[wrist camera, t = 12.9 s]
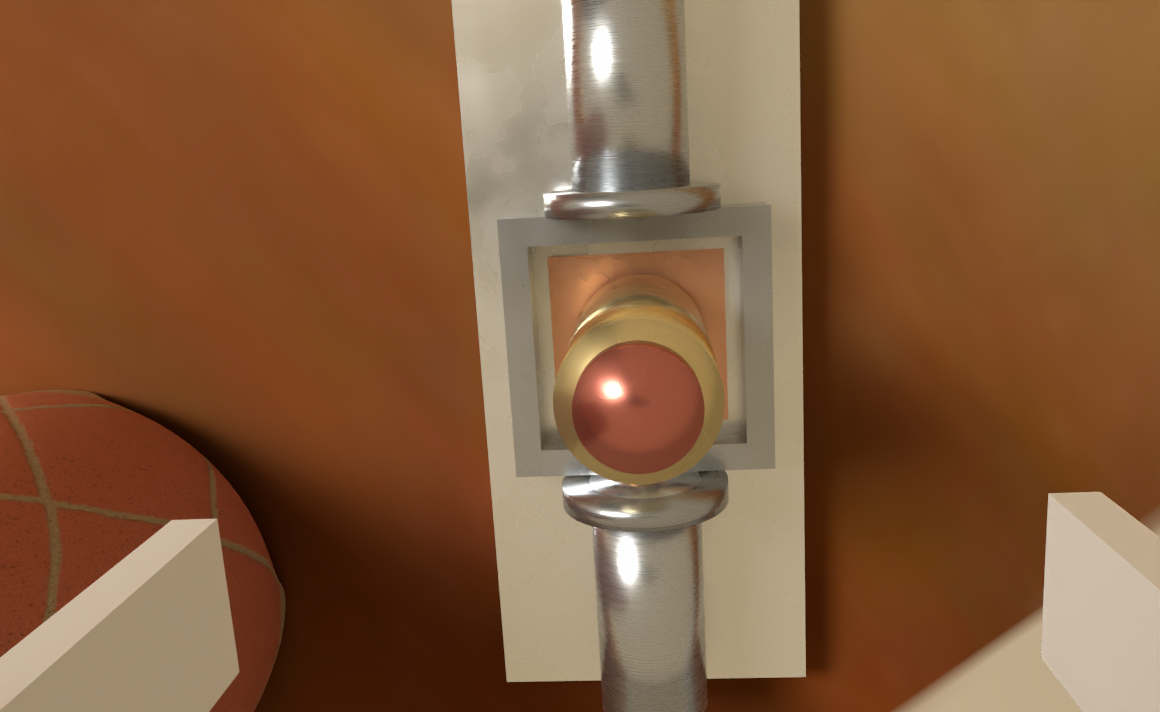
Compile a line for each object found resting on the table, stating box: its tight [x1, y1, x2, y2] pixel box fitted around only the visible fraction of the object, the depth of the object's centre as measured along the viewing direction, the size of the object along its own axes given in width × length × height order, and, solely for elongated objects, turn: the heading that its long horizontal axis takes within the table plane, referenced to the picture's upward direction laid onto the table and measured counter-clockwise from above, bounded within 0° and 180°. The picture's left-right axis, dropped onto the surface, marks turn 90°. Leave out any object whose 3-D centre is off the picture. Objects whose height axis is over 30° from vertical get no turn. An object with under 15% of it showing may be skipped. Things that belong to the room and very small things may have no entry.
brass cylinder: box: [553, 275, 725, 485], centre depth 31 cm, size 5×5×10 cm
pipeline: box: [452, 0, 806, 712], centre depth 34 cm, size 28×12×6 cm, turn 3°
